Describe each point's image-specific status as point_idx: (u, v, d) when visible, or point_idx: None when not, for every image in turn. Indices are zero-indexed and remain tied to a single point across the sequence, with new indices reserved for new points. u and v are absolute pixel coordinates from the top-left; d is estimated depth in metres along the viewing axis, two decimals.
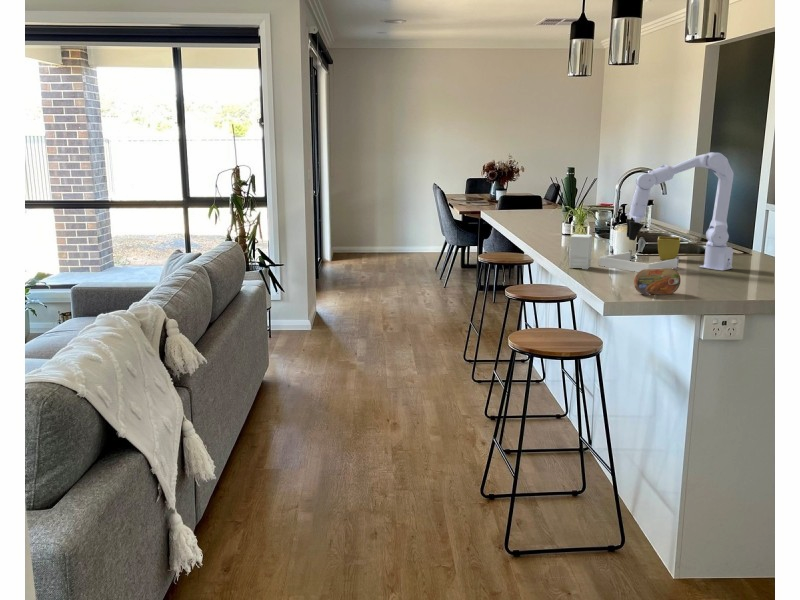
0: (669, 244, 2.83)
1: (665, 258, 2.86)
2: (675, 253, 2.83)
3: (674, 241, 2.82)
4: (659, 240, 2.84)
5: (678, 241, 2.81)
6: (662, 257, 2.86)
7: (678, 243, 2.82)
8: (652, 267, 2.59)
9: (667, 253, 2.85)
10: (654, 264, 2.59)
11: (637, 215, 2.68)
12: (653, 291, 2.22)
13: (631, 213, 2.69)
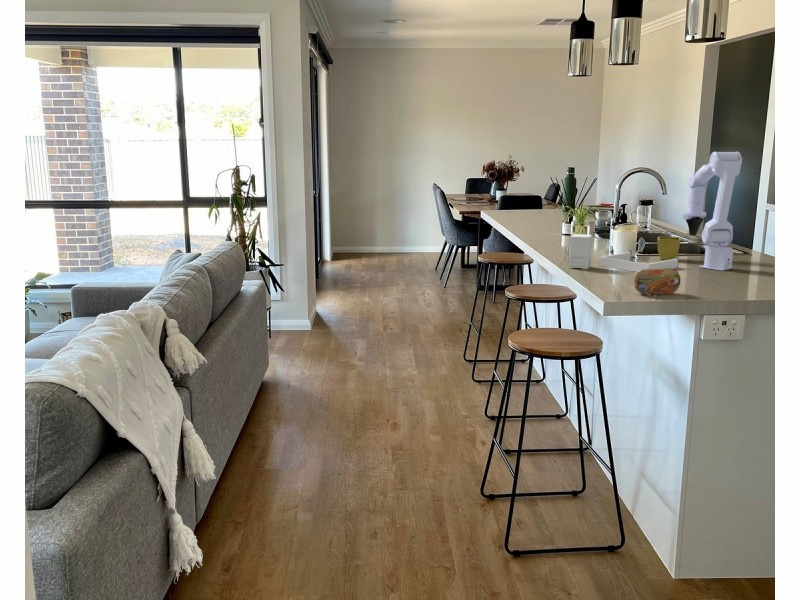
0: (669, 244, 2.83)
1: (665, 258, 2.86)
2: (675, 253, 2.83)
3: (674, 241, 2.82)
4: (659, 240, 2.84)
5: (678, 241, 2.81)
6: (662, 257, 2.86)
7: (678, 243, 2.82)
8: (652, 267, 2.59)
9: (667, 253, 2.85)
10: (654, 264, 2.59)
11: (691, 212, 2.86)
12: (653, 291, 2.22)
13: None
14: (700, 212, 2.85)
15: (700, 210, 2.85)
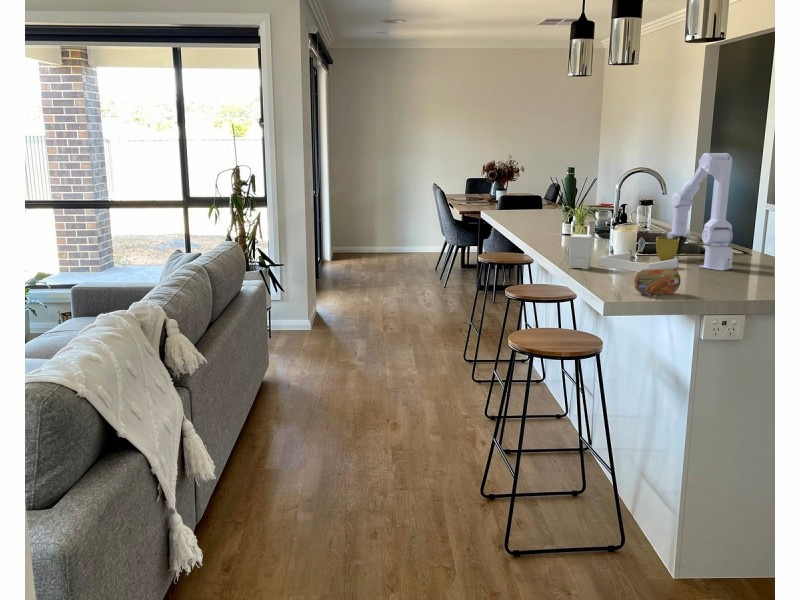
0: (667, 244, 2.83)
1: (663, 258, 2.86)
2: (673, 253, 2.83)
3: (672, 241, 2.82)
4: (657, 240, 2.84)
5: (676, 241, 2.81)
6: (660, 257, 2.86)
7: (676, 243, 2.81)
8: (652, 267, 2.59)
9: (666, 253, 2.84)
10: (654, 264, 2.59)
11: (675, 232, 2.89)
12: (653, 291, 2.22)
13: None
14: (684, 231, 2.88)
15: (684, 229, 2.88)
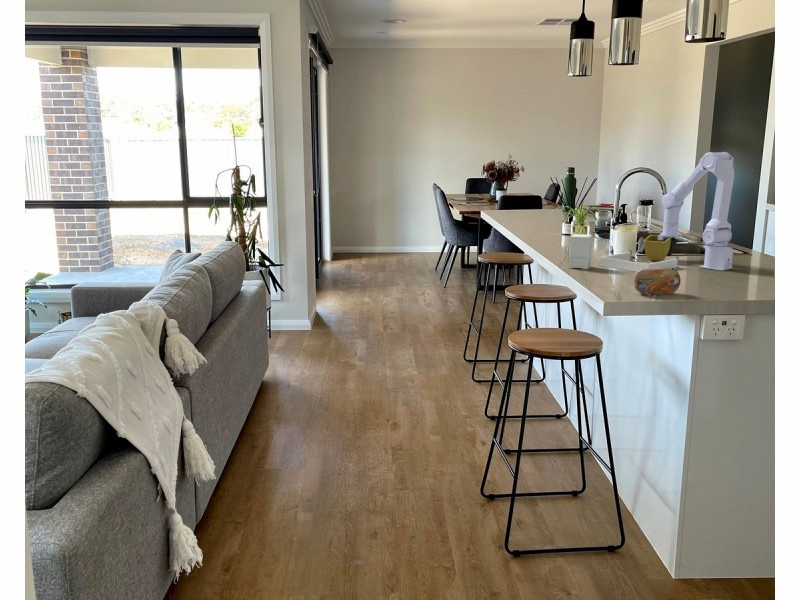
0: (654, 246, 2.80)
1: (653, 259, 2.84)
2: (661, 255, 2.80)
3: (659, 243, 2.79)
4: (645, 242, 2.82)
5: (663, 243, 2.78)
6: (650, 258, 2.85)
7: (663, 245, 2.78)
8: (652, 267, 2.59)
9: (654, 254, 2.82)
10: (654, 264, 2.59)
11: (666, 233, 2.85)
12: (653, 291, 2.22)
13: None
14: (675, 233, 2.84)
15: (675, 231, 2.83)
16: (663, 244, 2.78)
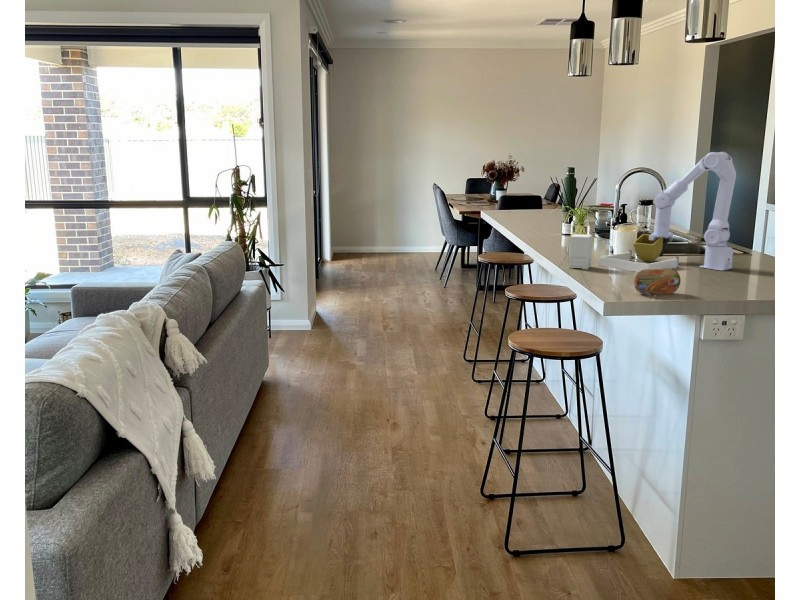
0: (644, 248, 2.79)
1: (644, 259, 2.83)
2: (651, 256, 2.79)
3: (648, 245, 2.77)
4: (634, 244, 2.81)
5: (651, 246, 2.76)
6: (641, 258, 2.83)
7: (652, 247, 2.76)
8: (652, 267, 2.59)
9: (645, 256, 2.81)
10: (654, 264, 2.59)
11: (657, 233, 2.81)
12: (653, 291, 2.22)
13: (654, 232, 2.83)
14: (666, 233, 2.80)
15: (666, 231, 2.80)
16: (651, 246, 2.76)
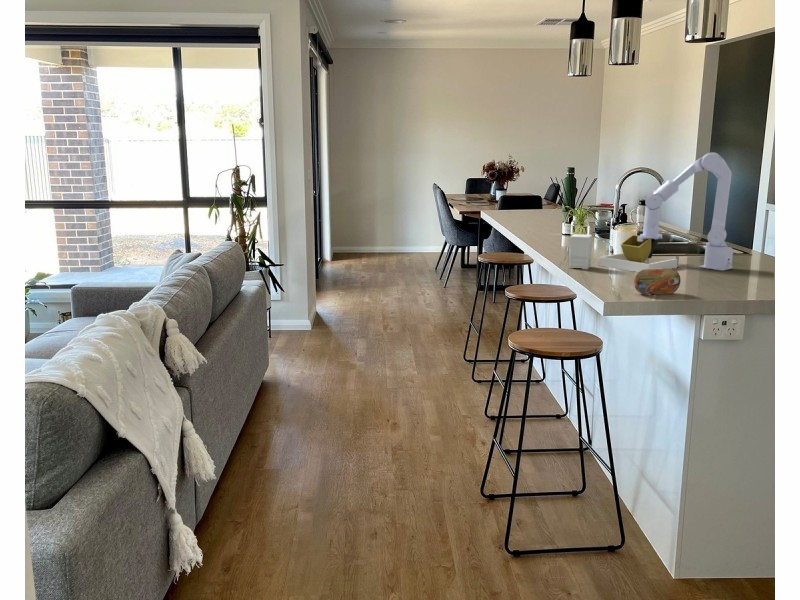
0: (631, 250, 2.75)
1: (632, 261, 2.79)
2: (638, 258, 2.75)
3: (634, 248, 2.73)
4: (621, 245, 2.77)
5: (637, 248, 2.71)
6: (629, 260, 2.80)
7: (638, 250, 2.72)
8: (652, 267, 2.59)
9: (632, 257, 2.77)
10: (654, 264, 2.59)
11: (646, 234, 2.76)
12: (653, 291, 2.22)
13: None
14: (655, 234, 2.75)
15: (655, 232, 2.75)
16: (638, 249, 2.72)
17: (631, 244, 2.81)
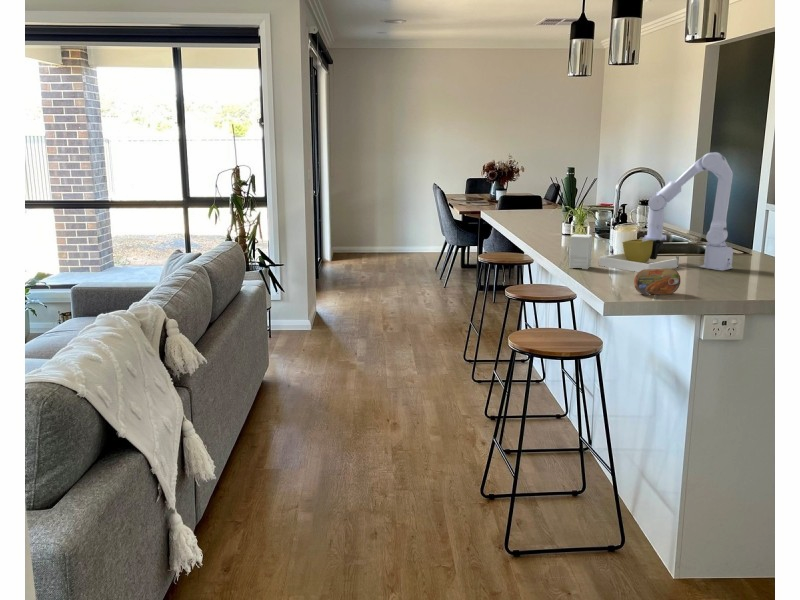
0: (632, 247, 2.75)
1: (632, 261, 2.78)
2: (638, 255, 2.74)
3: (636, 243, 2.74)
4: (623, 242, 2.78)
5: (639, 243, 2.72)
6: (629, 260, 2.79)
7: (639, 245, 2.72)
8: (652, 267, 2.59)
9: (632, 256, 2.76)
10: (654, 264, 2.59)
11: (650, 236, 2.78)
12: (653, 291, 2.22)
13: (647, 234, 2.80)
14: (659, 235, 2.77)
15: (659, 233, 2.76)
16: (639, 244, 2.72)
17: None
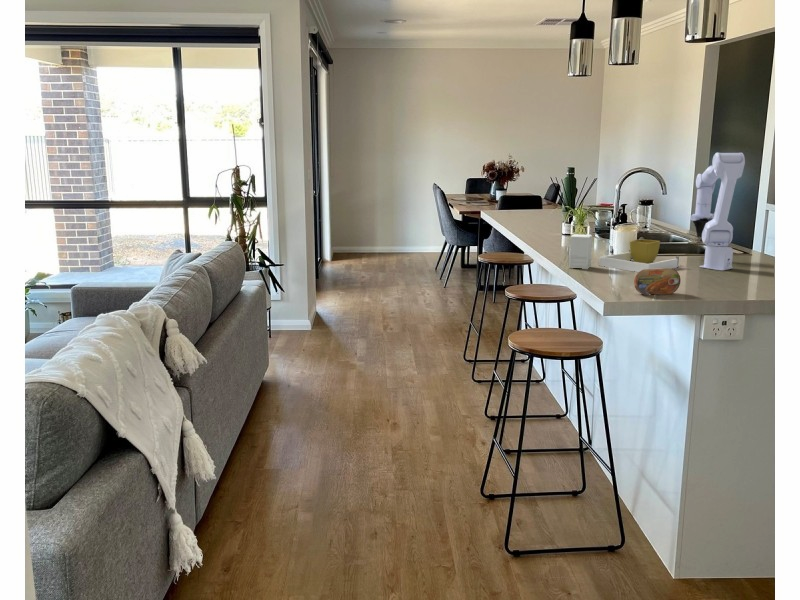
0: (639, 247, 2.76)
1: (637, 261, 2.79)
2: (645, 256, 2.75)
3: (643, 244, 2.74)
4: (630, 242, 2.79)
5: (647, 244, 2.73)
6: (635, 260, 2.80)
7: (647, 246, 2.73)
8: (652, 267, 2.59)
9: (638, 256, 2.77)
10: (654, 264, 2.59)
11: (698, 214, 2.83)
12: (653, 291, 2.22)
13: (695, 212, 2.85)
14: (708, 213, 2.82)
15: (708, 211, 2.81)
16: (647, 245, 2.73)
17: None
